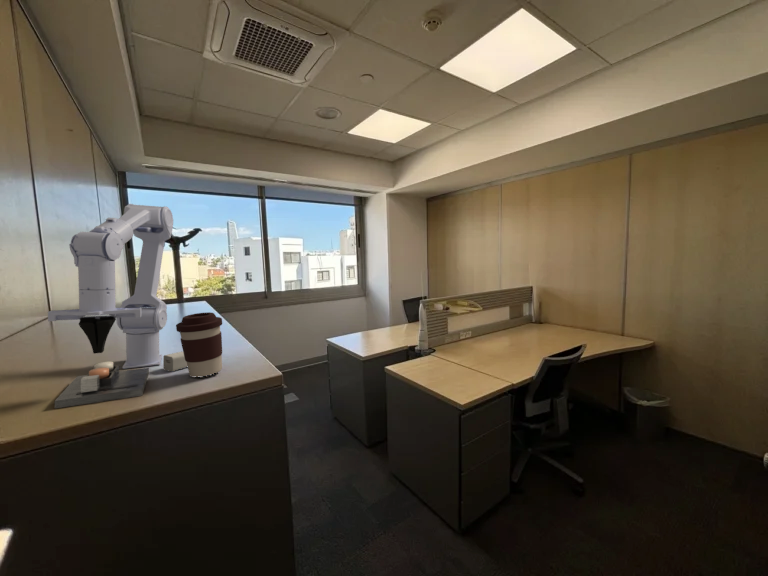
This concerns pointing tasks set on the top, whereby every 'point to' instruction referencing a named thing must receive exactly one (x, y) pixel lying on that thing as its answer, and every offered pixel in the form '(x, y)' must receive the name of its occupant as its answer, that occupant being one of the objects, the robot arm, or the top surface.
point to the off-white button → (104, 365)
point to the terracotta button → (100, 372)
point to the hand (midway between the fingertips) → (98, 352)
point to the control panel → (105, 388)
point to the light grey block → (90, 383)
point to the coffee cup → (201, 343)
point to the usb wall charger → (174, 361)
